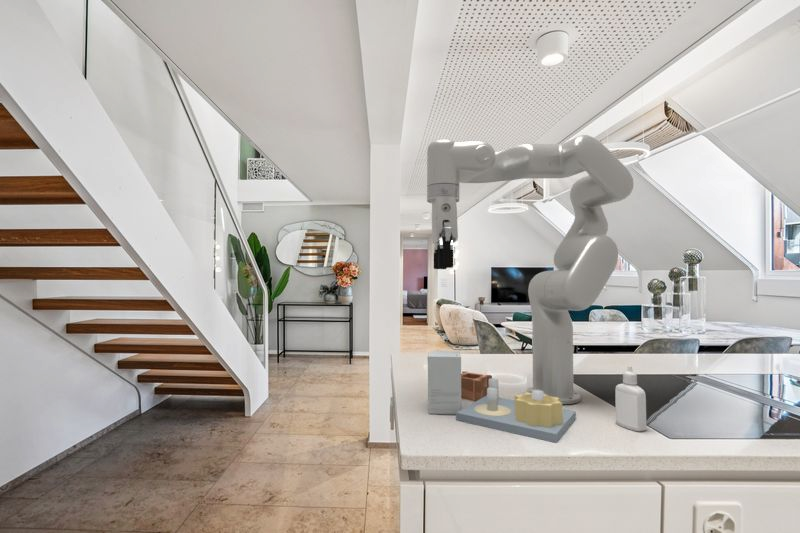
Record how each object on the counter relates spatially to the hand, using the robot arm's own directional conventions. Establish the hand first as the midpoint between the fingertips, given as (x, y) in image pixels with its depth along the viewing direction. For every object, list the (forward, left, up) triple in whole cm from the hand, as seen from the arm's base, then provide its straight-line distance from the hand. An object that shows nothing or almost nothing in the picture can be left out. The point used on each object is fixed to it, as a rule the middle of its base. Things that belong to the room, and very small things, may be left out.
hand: (442, 268), depth 93 cm
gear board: (-2, +16, -32) cm, 36 cm away
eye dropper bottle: (-11, +36, -32) cm, 50 cm away
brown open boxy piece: (-12, +1, -32) cm, 34 cm away
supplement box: (+1, +1, -32) cm, 32 cm away
